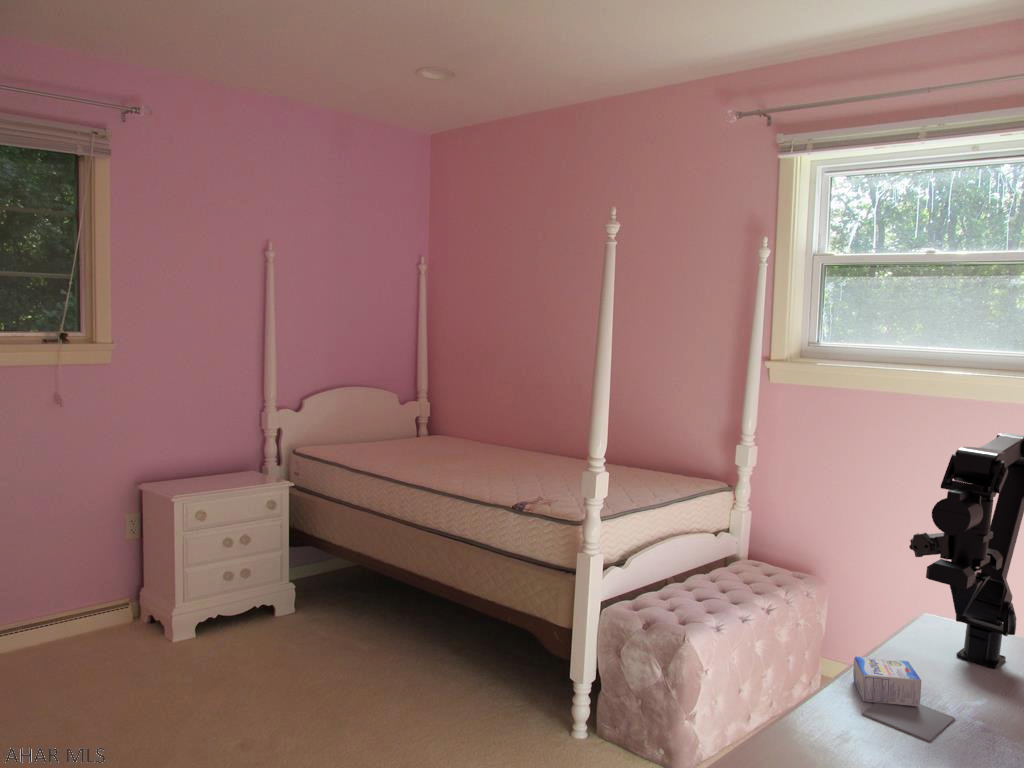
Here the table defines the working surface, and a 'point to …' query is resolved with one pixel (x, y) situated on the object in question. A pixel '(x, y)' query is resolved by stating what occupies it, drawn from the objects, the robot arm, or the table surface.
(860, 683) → the medicine box
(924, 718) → the mat
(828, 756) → the table surface
